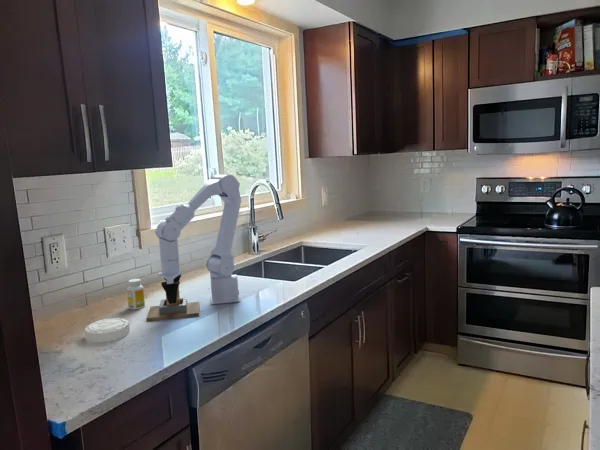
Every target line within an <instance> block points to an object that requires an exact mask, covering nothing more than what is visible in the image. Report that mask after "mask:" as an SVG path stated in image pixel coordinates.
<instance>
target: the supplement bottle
mask: <svg viewBox="0 0 600 450" xmlns="http://www.w3.org/2000/svg"><path fill="white" fill-rule="evenodd" d="M127 282H128V286H127V287H126V294H127V295H126V296H127V307H128V309H129V310H140V309H143V308H145V306H146V303H145V291H144V286H143V285H142V280H141V279H140V278H132V279H129V280H128V281H127Z"/></svg>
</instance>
